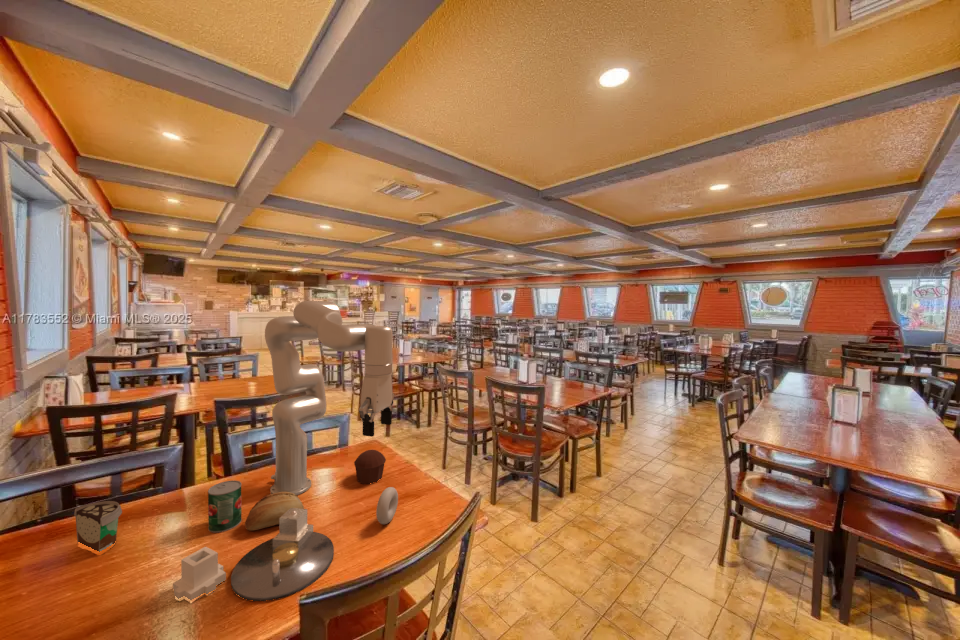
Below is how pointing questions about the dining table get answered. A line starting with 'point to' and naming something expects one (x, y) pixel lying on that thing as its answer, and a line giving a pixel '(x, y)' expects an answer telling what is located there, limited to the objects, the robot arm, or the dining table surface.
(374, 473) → the muffin
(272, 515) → the bread roll
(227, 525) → the canned tomato
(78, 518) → the food container
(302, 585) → the carrier
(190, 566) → the hollow square tube block
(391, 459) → the dining table surface
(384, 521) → the donut
